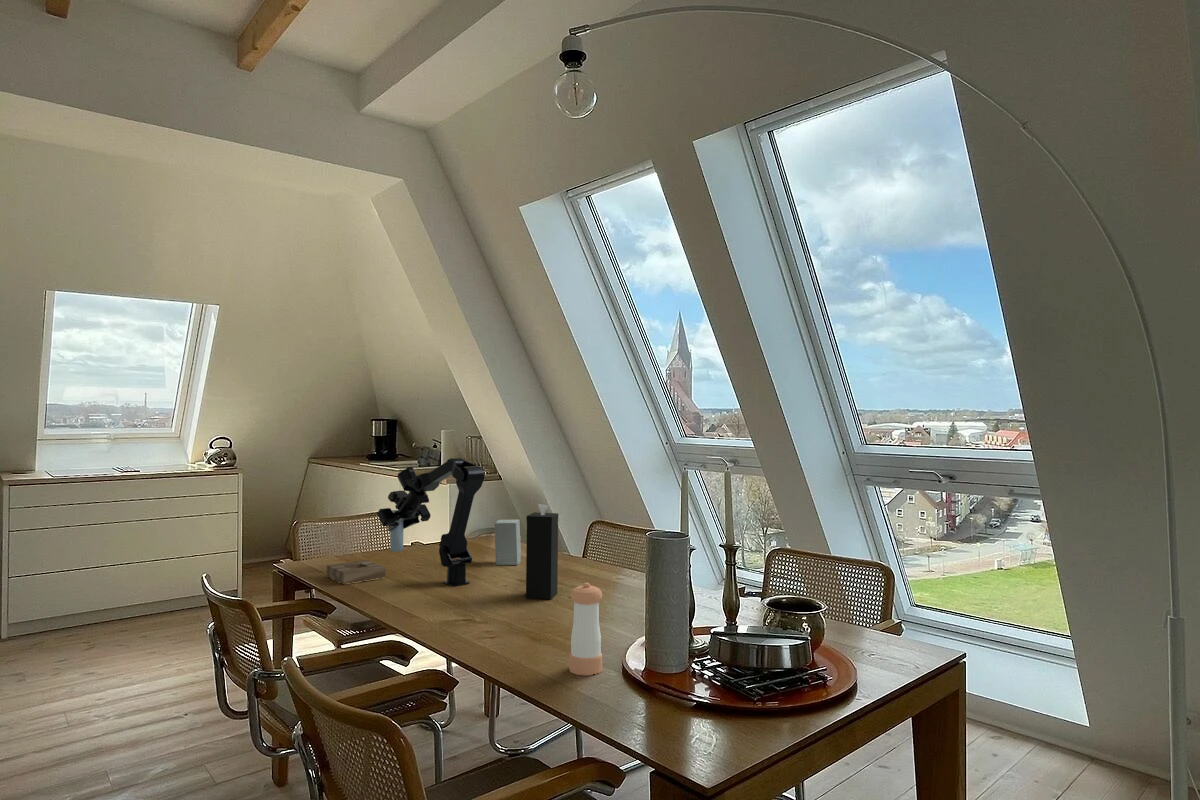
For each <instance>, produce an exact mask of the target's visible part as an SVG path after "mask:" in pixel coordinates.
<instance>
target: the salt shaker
mask: <svg viewBox="0 0 1200 800" xmlns="http://www.w3.org/2000/svg"><path fill="white" fill-rule="evenodd" d="M602 598H603V592H602V591H601V589H600V588H599V587H597V586H595V585H591V584H590V583H589V582H584V583H583V584H582V585H578V586H576V587H574V588H573V589H572V591H571V592H570V599H571V601H572V602H573V623H572V624H573V625H572V630H571V635H570V650H571V651H570V652H569V655H568V658H569V659H568V660H569V663H568V664H569V665H568V666H569V672H570V673H571V674H575V675H577V676H578V675H579V676H594V675H593V674H595V675H598V674H601V672H602V671H603V654H602V651H601V649H602V636H601V635H602V634H601V628H600V621H599V619H600V618H599V617H600V615H599V612H600V611H599V610H600V609H599V607H600V602H601V601H602ZM597 673H598V674H597Z"/></svg>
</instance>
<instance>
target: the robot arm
mask: <svg viewBox="0 0 1200 800" xmlns="http://www.w3.org/2000/svg"><path fill="white" fill-rule="evenodd" d="M451 476H452V477H453V478H454V479H455V484H456V487H457V489H458V494H457V497H456V503H455V507H454V511H453V516H452V519H451V523H450V527H449V531H448V532H447V533H443V534H442V535H441V536H440V541H439V544H438V547H439V550H438V554H439V559H440V563H441V566H443V567H444V568H445V567H447V568H446V580H443V581H442V583H443V584H445V583H446V585H448V586H450V585H451V587H457V586H463V585H469V584H470V583H471V582H470V581H468V580H467V579H466V578H467V577H466V576H467V573H466V572H467V571H466V569H467V566H466V565H467V564H472V562H473V556H472V554H471V552H470V551H469V549H468V540H467V537H466V531H467V527H468V522H469V519H470V518H469V517H470V515H471V510H472V506H473V502H474V499H475V498H474V497H475V495H476V493H477V492H478V491H479V490H480V489H481V488H482V485H483V483H484V481H485V477H486V474H485V471H484V469H483V467H481V466H479V465H477V464H475V463H472V462H469V461H467V460H465V459H464V458H462V457H451V458H449V459H447V460H446V461H445V462H444V463H442V464H440V465H439V466H437V467H436V468H434V469H433V470H430V471H428V472H424V473H420V474H416V472H415V469H414V467H413V466H407V467H406V468H405V469H403V470H401V471H400V472H398V474H397V475H396V477H397V479H398V482H399V483H400V486H401V487H402V489H403V490H393V491H390V492H389V494H388V495H387V499H388V501H390V503H394V504H395V506H394V508H395V510H398V511H395V513H393V512H392V509H391V507H385V508H380V509H379V510H378V511H377V513H376V514H377V517H378V519H379V521H380V523H381V525H382V526H383V527H387V530H388V532H389V533H391V531H392V530H393V529H395V528H396V527H397V526H399V524H398V521H399V519H403V530H404V529H407V528H409V527H411V526H412V527H413V525H417V524H419V523H420V522H428V521H429V520H430V518H431V512H430V511H429V509H428V507H427V505H426V503H430V499H429V495H428V494H427V492H434V491H436V489H437V488H438V487H439V486H440V484H441V482H442V481H444V480H445V479H447V478H450V477H451ZM407 492H408V493H407ZM420 517H421V518H420Z"/></svg>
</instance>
